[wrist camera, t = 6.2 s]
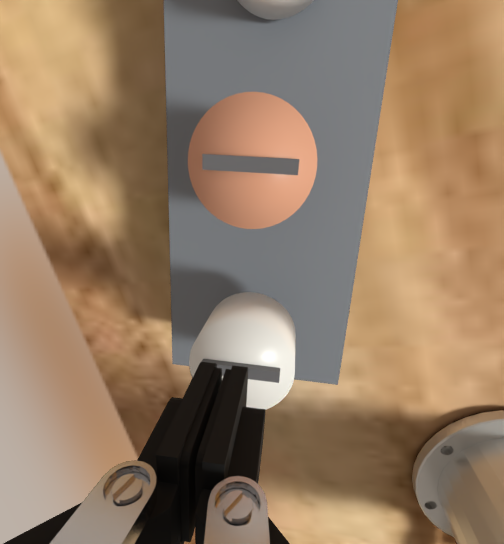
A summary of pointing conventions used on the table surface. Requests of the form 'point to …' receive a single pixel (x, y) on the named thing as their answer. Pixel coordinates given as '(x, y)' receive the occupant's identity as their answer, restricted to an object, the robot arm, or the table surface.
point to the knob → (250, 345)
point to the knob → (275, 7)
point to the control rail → (329, 176)
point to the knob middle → (252, 160)
